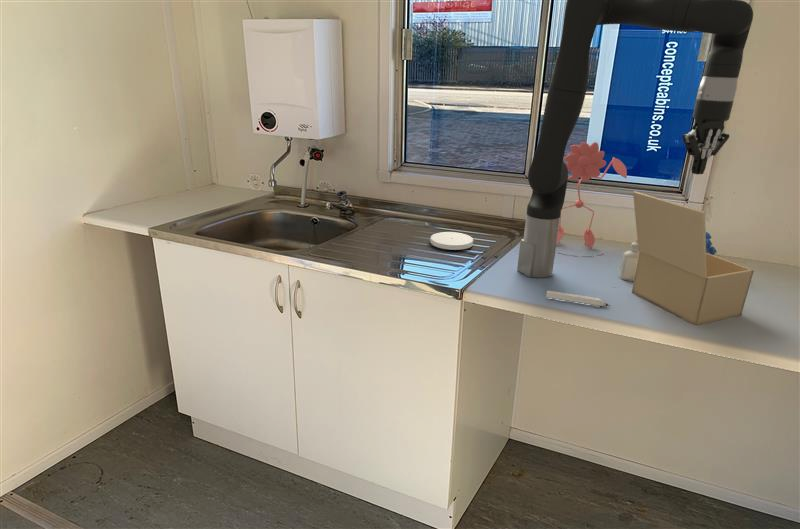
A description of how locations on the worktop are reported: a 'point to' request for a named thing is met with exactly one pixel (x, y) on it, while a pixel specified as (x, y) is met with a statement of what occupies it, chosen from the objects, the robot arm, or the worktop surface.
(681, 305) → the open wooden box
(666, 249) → the lid flap
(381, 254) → the worktop surface
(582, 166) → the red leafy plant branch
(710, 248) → the grapes
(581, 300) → the marker
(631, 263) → the eye dropper bottle
